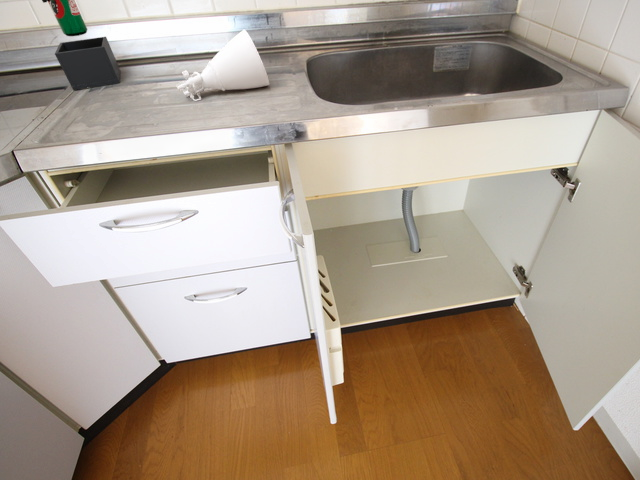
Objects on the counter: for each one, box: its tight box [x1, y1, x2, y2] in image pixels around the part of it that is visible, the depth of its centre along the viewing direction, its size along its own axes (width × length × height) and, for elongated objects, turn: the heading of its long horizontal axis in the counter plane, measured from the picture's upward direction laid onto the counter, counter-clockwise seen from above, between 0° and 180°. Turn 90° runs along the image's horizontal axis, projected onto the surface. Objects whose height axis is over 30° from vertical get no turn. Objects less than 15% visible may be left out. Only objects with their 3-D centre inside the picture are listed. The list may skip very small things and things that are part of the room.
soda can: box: [47, 0, 88, 37], centre depth 86 cm, size 5×5×12 cm
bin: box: [54, 36, 121, 91], centre depth 94 cm, size 10×10×8 cm
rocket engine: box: [176, 29, 270, 102], centre depth 84 cm, size 12×12×18 cm
